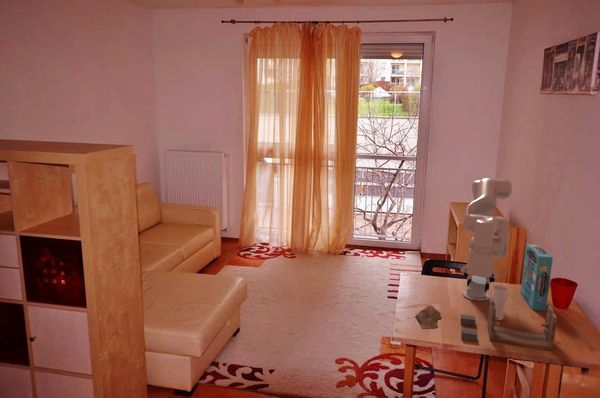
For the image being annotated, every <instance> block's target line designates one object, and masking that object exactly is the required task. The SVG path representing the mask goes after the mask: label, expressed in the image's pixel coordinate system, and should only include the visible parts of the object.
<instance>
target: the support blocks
mask: <svg viewBox="0 0 600 398" xmlns="http://www.w3.org/2000/svg"><path fill="white" fill-rule="evenodd" d="M476 322H477V321H476V316H475V315H469V314H468V315H467V314H463V313H461V314H460V325H462V326H463V325H464V326H469V327H470V326H471V327H476ZM460 338H461V339H460V340H463V339H464V340H463V341H470V342H477V341H478V331H477V330H475V329H470V328H464V327H462V328H461V331H460Z"/></svg>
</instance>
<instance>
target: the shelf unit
mask: <svg viewBox="0 0 600 398" xmlns="http://www.w3.org/2000/svg"><path fill="white" fill-rule="evenodd" d="M495 316H496V306H495V302H494V298H491V297H490V300H489V308H488V318H487V328H486V329H487V333H488V340H489V341H491V342H498V343H504V344H509V345H515V346H516V345H517V346H522V347H528V348H529V347H530V348H535V349H539V350H540V349H542V350H548V351H553V349H554V344H555V336H556V330H557V322H558V317H557V315H556V313H555V311H554V309H553V306H551V305H547V307H546V316H545V317H546V318H545V323H541V327H544V328H543V332H536V331H532V330H525V329H524V330H523V329H518V328H517V329H516V328H512V327H506V326H505V327H503V326H499V325H500V322H499V320H498V317H495ZM495 319H496V320H495Z"/></svg>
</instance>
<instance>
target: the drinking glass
mask: <svg viewBox="0 0 600 398" xmlns="http://www.w3.org/2000/svg"><path fill="white" fill-rule="evenodd" d="M508 295H509V288H508V287H507V286H504V285H502V284H501V285H500V284H495V285H492V287H491V295H490V299H491V298H494V302H495V306H496V316H495V317H498V320H496V319H495V321H502V320H504V316H505V315H504V314H505V310H506V306H507V302H508V301H507V300H508Z"/></svg>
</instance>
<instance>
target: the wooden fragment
mask: <svg viewBox="0 0 600 398" xmlns="http://www.w3.org/2000/svg"><path fill="white" fill-rule="evenodd" d="M441 314H442V313H441V312H440V311H439V310H437V309H436V308H435V307H434V306H432V305H430V304H429V305H427V306H426V307H425V308H423V309H422V310H421V311H419V312H418V313H417V314H415V318H416V319H417V320H418V323H419V325H420V326H421V327H422V328H421V329H422V330H424V329H425V330H427V329H428V330H431V329H437V328H438V329H439V326H438V322H439V321H438V320H440V319H442V316H441Z"/></svg>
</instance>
